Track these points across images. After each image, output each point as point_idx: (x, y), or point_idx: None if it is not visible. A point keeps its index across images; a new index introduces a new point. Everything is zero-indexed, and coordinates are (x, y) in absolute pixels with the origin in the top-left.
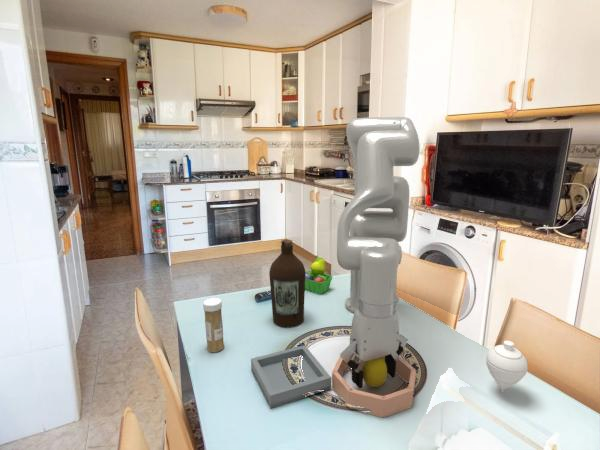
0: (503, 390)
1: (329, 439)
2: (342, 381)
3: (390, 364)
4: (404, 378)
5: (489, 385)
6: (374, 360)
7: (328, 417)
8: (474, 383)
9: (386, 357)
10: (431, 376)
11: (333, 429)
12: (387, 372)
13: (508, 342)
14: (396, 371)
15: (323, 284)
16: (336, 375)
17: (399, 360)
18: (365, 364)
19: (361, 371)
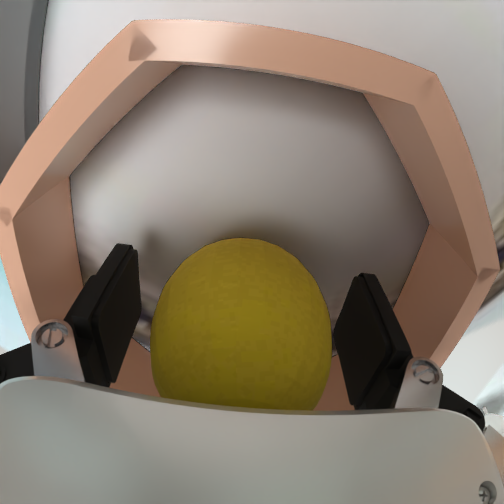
0: (485, 413)
1: (4, 340)
2: (21, 303)
3: (355, 372)
4: (400, 309)
5: (497, 388)
6: None
7: (6, 291)
8: (492, 377)
9: (378, 363)
10: (475, 324)
11: (14, 327)
12: (348, 302)
13: None
14: (423, 258)
15: None
16: (2, 248)
17: (448, 326)
18: (154, 378)
19: (103, 383)
